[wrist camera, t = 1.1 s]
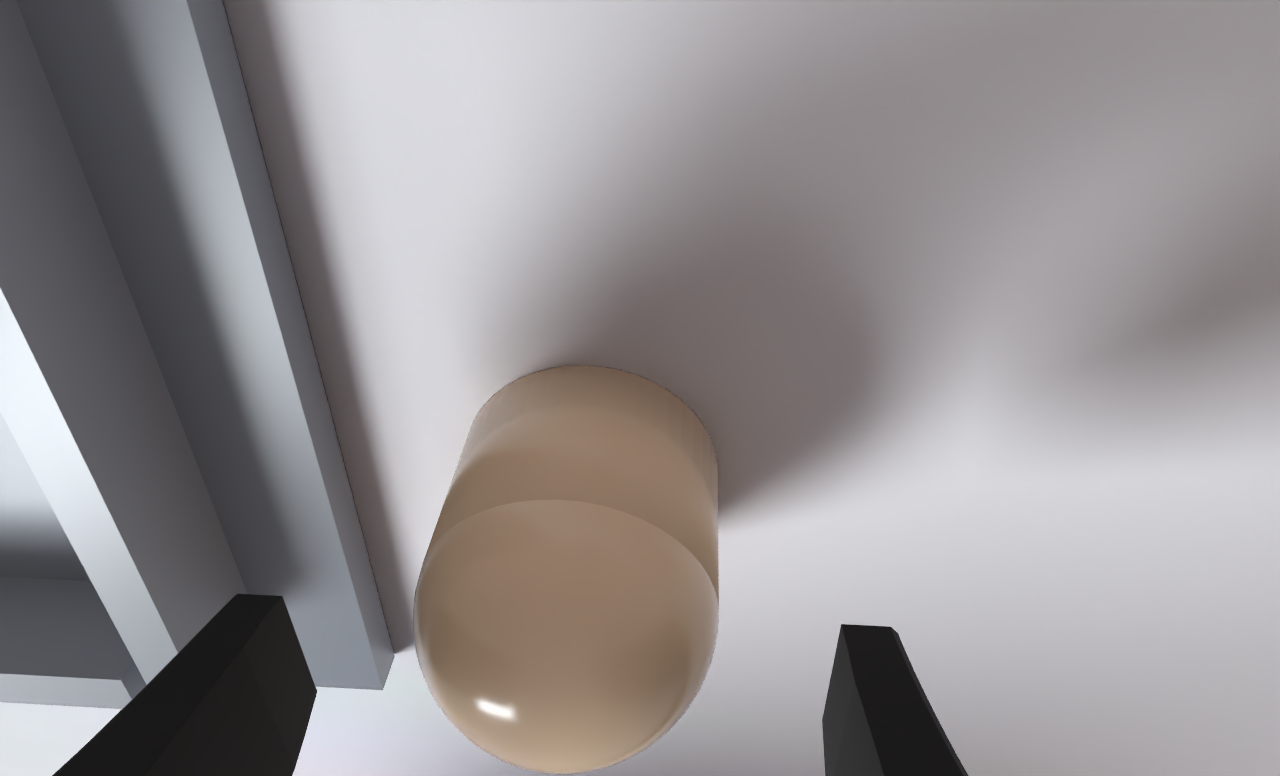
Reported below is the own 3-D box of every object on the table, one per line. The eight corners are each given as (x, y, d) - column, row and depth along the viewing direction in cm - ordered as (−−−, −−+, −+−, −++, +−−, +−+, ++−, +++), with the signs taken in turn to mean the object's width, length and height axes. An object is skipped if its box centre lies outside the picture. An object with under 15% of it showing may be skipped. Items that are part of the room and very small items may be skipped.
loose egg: (712, 561, 16) (712, 846, 12) (480, 551, 16) (402, 826, 12) (723, 369, 14) (728, 644, 9) (451, 360, 14) (339, 624, 10)
